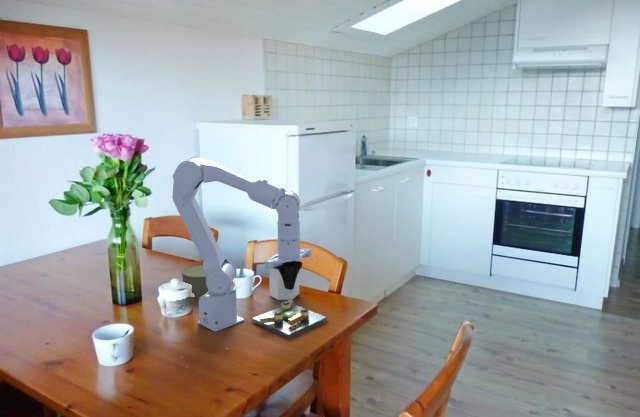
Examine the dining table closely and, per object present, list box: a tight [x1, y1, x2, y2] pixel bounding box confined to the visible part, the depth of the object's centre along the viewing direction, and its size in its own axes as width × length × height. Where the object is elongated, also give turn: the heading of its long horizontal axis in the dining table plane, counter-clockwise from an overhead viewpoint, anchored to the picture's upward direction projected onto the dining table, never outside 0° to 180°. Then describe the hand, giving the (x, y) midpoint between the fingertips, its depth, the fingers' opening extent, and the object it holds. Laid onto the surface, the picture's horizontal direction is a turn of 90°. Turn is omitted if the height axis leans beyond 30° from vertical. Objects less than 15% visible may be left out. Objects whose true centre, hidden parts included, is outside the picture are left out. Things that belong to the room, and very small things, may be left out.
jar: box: [268, 253, 300, 301], centre depth 153 cm, size 9×8×12 cm
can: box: [181, 263, 208, 299], centre depth 157 cm, size 12×12×7 cm
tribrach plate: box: [251, 303, 328, 340], centre depth 135 cm, size 14×14×3 cm
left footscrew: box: [260, 311, 283, 324], centre depth 132 cm, size 6×2×2 cm, turn 107°
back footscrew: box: [281, 299, 294, 312], centre depth 141 cm, size 6×2×2 cm, turn 167°
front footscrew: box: [288, 307, 309, 325], centre depth 132 cm, size 7×2×2 cm, turn 142°
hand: (289, 288), depth 134 cm, fingers closed
